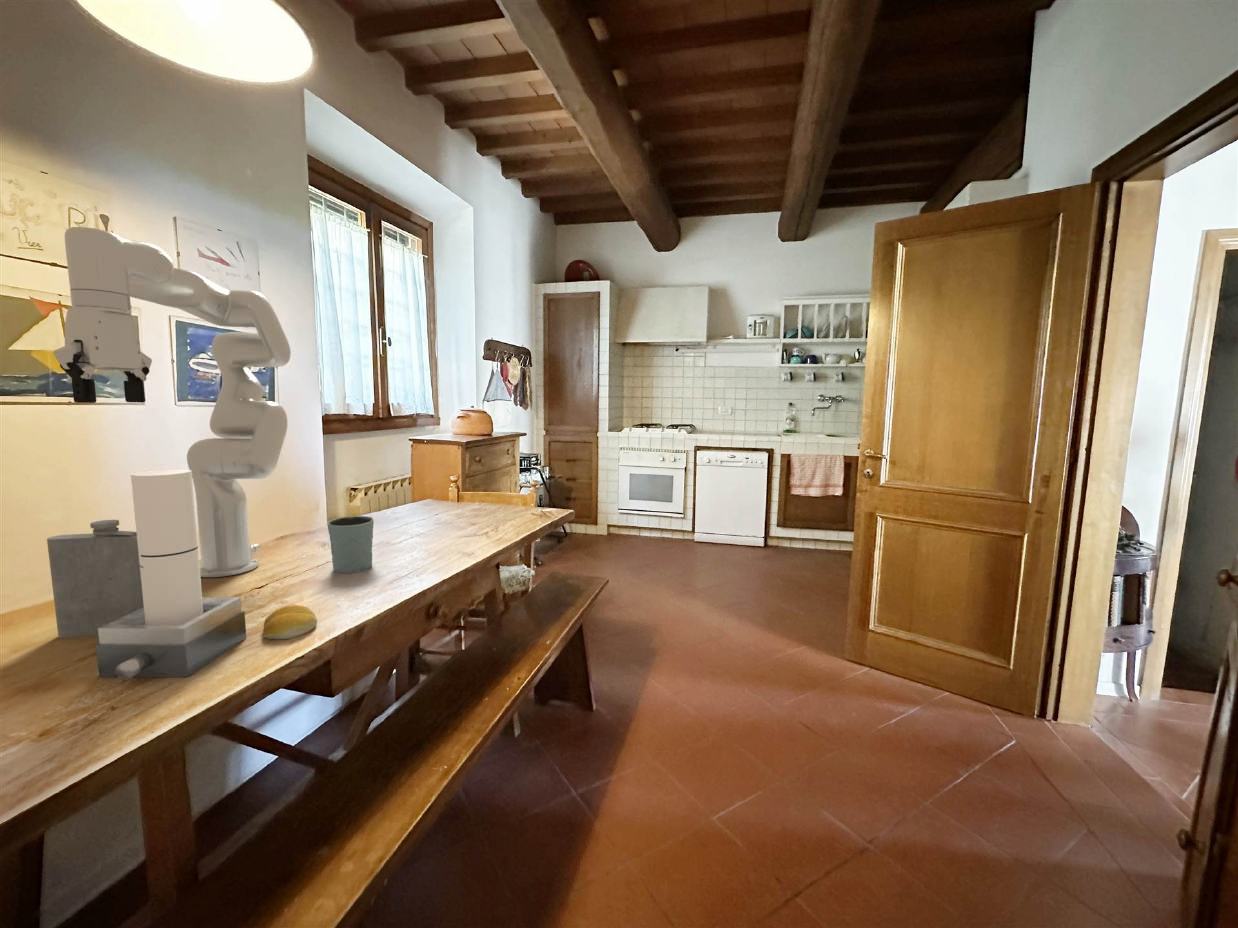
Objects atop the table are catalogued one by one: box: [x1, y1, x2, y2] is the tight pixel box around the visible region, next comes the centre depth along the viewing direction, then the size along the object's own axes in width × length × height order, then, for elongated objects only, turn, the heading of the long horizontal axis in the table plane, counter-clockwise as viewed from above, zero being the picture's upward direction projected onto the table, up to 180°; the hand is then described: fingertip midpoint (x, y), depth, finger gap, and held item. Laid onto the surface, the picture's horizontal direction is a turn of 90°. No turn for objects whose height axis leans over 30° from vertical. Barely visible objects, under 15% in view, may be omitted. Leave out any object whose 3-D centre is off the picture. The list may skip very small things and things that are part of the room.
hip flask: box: [46, 519, 144, 640], centre depth 93 cm, size 16×4×20 cm, turn 99°
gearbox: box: [95, 596, 247, 681], centre depth 84 cm, size 16×13×8 cm
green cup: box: [327, 515, 375, 574], centre depth 130 cm, size 10×10×12 cm
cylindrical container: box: [130, 468, 203, 625], centre depth 84 cm, size 7×7×25 cm
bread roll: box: [262, 604, 318, 640], centre depth 96 cm, size 8×9×4 cm
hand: (111, 402), depth 95 cm, fingers open, 9 cm apart
